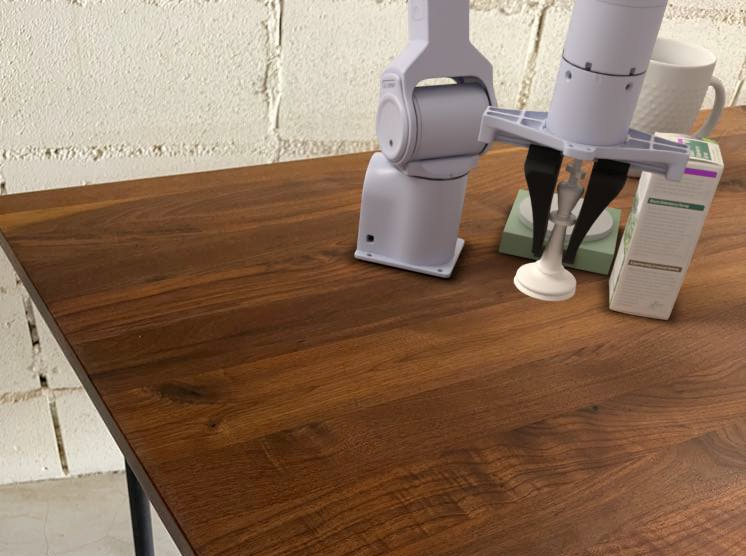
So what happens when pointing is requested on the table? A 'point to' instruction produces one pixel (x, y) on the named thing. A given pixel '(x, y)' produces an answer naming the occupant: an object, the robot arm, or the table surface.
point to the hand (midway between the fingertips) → (553, 251)
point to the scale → (591, 252)
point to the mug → (677, 90)
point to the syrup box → (664, 232)
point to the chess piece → (554, 246)
